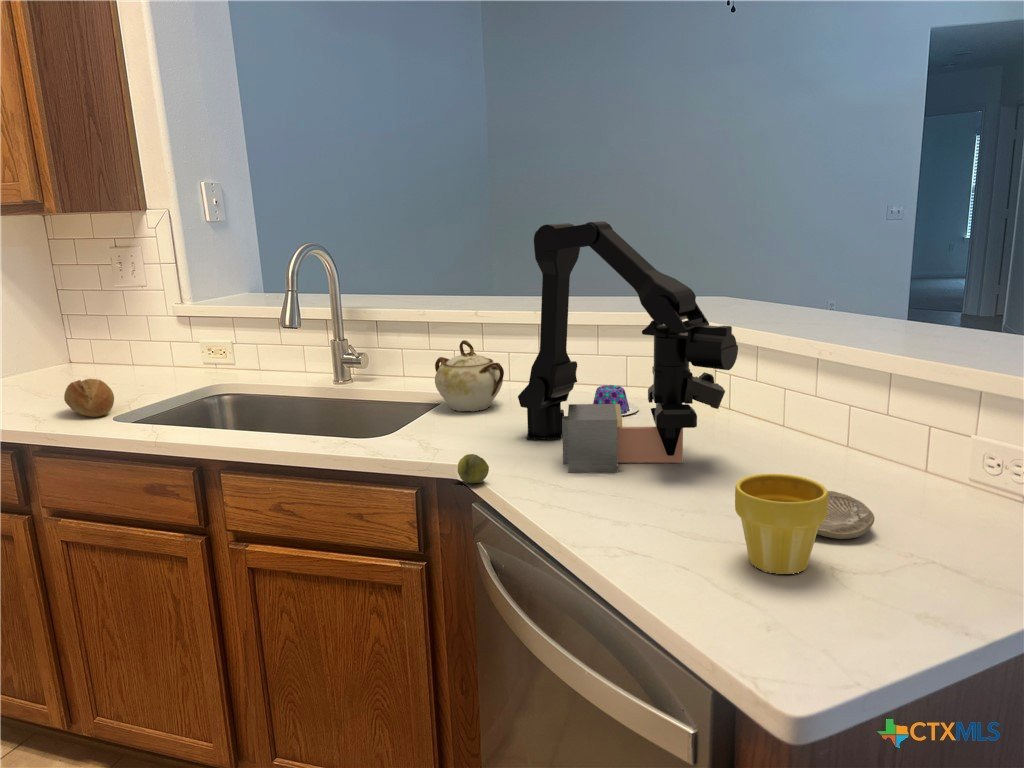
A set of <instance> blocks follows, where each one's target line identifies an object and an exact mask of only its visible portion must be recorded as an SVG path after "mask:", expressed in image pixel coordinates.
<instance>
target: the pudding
mask: <svg viewBox="0 0 1024 768" xmlns="http://www.w3.org/2000/svg"><path fill="white" fill-rule="evenodd" d="M594 394H595V395H594V397H593V402H590V403H588V404H620V409H621V415H622V416H627V415H631V414H634V413H636V412H637V411H639V410H640V409H639V408H640V407H639V406H638V405H636V404H634V403H631V402H629V401H628V398H627V394H626V390H625V388H623V387H622V386H621V385H614V384H609V385H600V386H597V388H596V390H595V393H594ZM629 408H631V409H632V411H631V412H630V409H629ZM627 411H628V412H627ZM629 412H630V413H629Z"/></svg>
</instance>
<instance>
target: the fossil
mask: <svg viewBox="0 0 1024 768" xmlns="http://www.w3.org/2000/svg"><path fill="white" fill-rule="evenodd" d="M827 491H828V507H827V516H826V519H825V521H824V522H823V523H821V524H820V525H819V528H818V531H817V535H820V536H823V537H825V538H830V539H839V540H849V539H854V538H859V537H861V536H863V535H864V534H866V533H867V532H869V531H870V529H871V528H872V527H873V525H874V522H875V514H874V513H873V512H872V510H871V509H870V508H869V507H868V506H867V505H866V504H864V502H862V501H860V500H859V499H856V498H854V497H852V496H851V495H848V494H845V493H841V492H837V491H836V490H835V491H834V490H827Z"/></svg>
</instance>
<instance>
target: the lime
mask: <svg viewBox="0 0 1024 768" xmlns="http://www.w3.org/2000/svg"><path fill="white" fill-rule="evenodd" d="M489 467H490V466H489V464H488V463H487V461H486V460H485V459H484V458H482V457H481V456H479V455H477V454H474V453H470V454H466V455H463V457H462V458H460V459H459V461H458V463H457V474H458V476H459V478H460V479H461V480H462V481H463V482H464V483H466V484H470V485H471V484H479V483H481V482H483V481H484V480H485V479H486V478H487V476H488V474H489V471H490V468H489Z"/></svg>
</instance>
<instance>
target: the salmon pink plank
mask: <svg viewBox="0 0 1024 768" xmlns="http://www.w3.org/2000/svg"><path fill="white" fill-rule="evenodd" d="M683 442H684V428H682V429H681V431H680V435H679V438H678V442H677V446H676V449H675V453H674V455H673V456H668V455H667V453H666V451H665V448H664V445H663V443H662V440H661V438H660V435H659V432H658V430H657V427H656V426H622V427H617V464H618V463H683V460H684V459H683V450H684V449H683V448H684V443H683Z"/></svg>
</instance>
